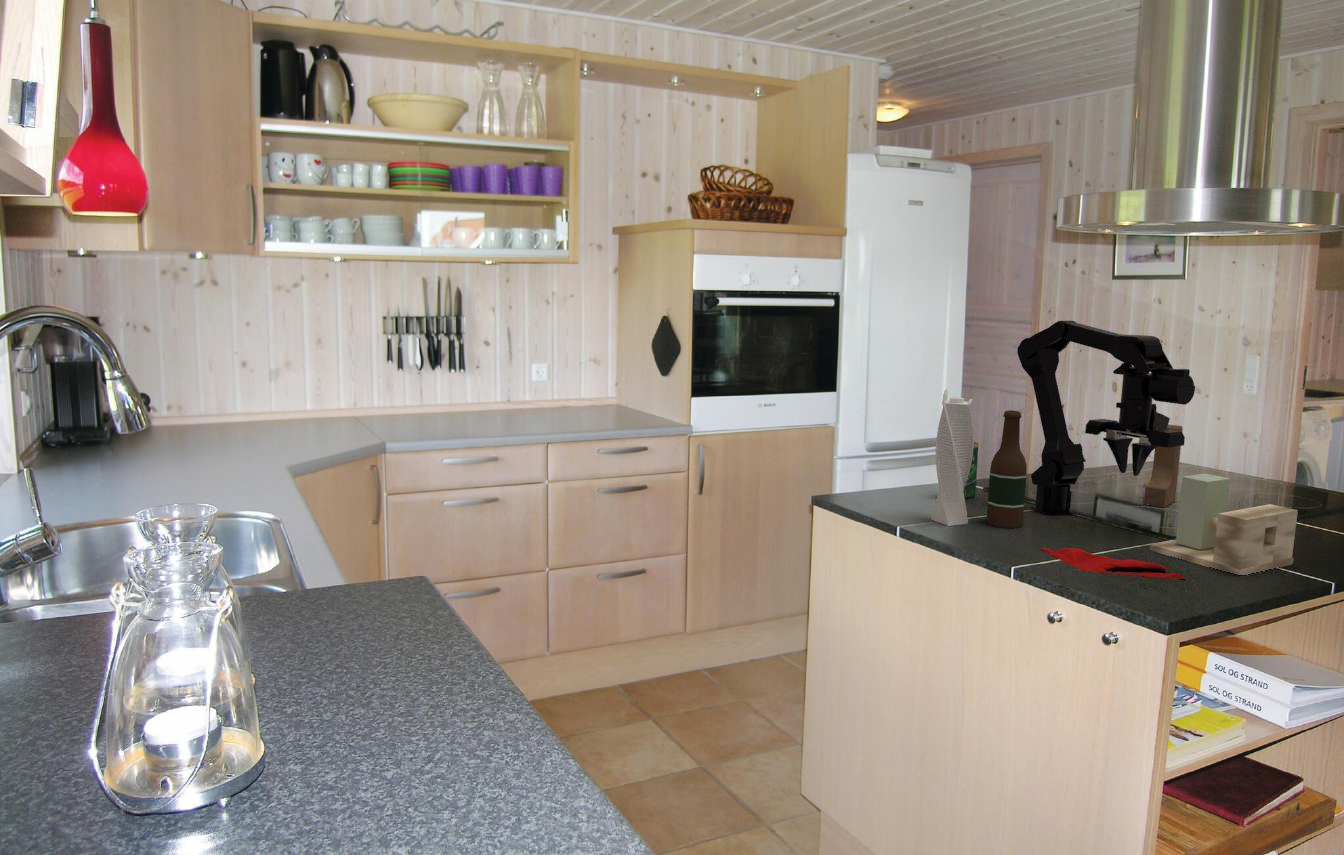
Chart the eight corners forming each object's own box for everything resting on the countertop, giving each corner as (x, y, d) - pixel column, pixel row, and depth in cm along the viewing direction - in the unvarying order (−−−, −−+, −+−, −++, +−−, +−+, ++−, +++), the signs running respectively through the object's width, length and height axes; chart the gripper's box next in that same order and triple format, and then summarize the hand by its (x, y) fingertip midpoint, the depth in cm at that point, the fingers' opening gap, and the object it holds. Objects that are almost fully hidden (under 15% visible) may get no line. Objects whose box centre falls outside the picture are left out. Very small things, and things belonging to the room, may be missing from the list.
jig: (1149, 550, 183) (1155, 498, 181) (1200, 540, 190) (1206, 490, 189) (1241, 576, 168) (1248, 520, 166) (1292, 564, 175) (1299, 510, 174)
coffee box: (952, 501, 220) (956, 445, 218) (943, 499, 222) (946, 443, 220) (976, 497, 224) (980, 442, 222) (966, 495, 227) (970, 440, 224)
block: (1175, 542, 183) (1182, 476, 181) (1197, 538, 186) (1204, 473, 184) (1221, 555, 175) (1229, 486, 173) (1243, 550, 178) (1251, 482, 176)
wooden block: (1164, 508, 217) (1172, 430, 214) (1143, 504, 220) (1150, 427, 217) (1175, 501, 223) (1183, 425, 220) (1154, 498, 226) (1162, 423, 223)
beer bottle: (1030, 524, 201) (1039, 411, 197) (1014, 531, 195) (1023, 415, 191) (994, 517, 206) (1002, 407, 202) (978, 523, 201) (986, 411, 197)
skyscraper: (922, 518, 204) (930, 388, 200) (950, 515, 207) (959, 387, 202) (947, 527, 197) (955, 393, 192) (975, 524, 200) (984, 392, 195)
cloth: (1019, 555, 180) (1020, 544, 180) (1063, 545, 188) (1064, 534, 188) (1153, 595, 159) (1154, 582, 159) (1196, 581, 167) (1197, 568, 166)
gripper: (1205, 402, 188) (1197, 479, 190) (1121, 391, 204) (1114, 462, 206) (1170, 405, 182) (1162, 484, 185) (1086, 393, 199) (1080, 467, 201)
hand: (1129, 474), depth 195 cm, fingers open, 3 cm apart
